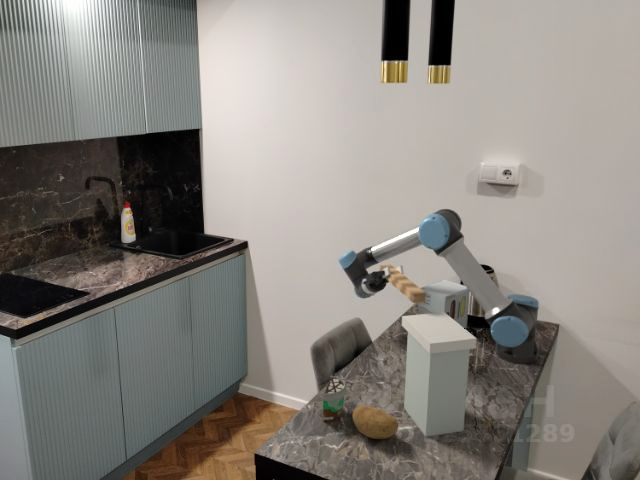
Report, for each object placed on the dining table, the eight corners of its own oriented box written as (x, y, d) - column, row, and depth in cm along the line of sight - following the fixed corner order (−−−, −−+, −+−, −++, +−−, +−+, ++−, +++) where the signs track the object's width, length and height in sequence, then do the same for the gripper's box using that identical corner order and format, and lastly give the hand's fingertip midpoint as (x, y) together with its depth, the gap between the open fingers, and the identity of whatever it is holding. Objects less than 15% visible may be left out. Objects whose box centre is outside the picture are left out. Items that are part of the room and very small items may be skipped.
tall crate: (398, 404, 189) (402, 316, 181) (438, 398, 192) (444, 312, 184) (424, 440, 170) (430, 343, 162) (468, 433, 174) (476, 338, 166)
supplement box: (442, 339, 236) (445, 296, 232) (416, 329, 246) (418, 288, 241) (467, 327, 248) (471, 286, 243) (441, 318, 257) (444, 278, 252)
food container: (342, 426, 177) (343, 396, 174) (322, 424, 178) (322, 394, 175) (349, 405, 188) (349, 376, 186) (330, 403, 189) (330, 374, 187)
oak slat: (379, 273, 213) (379, 265, 212) (390, 272, 214) (390, 264, 213) (413, 303, 185) (413, 293, 184) (425, 302, 186) (425, 292, 185)
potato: (387, 452, 164) (388, 427, 162) (345, 435, 172) (345, 410, 170) (404, 436, 172) (406, 411, 170) (363, 420, 180) (364, 396, 178)
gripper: (396, 290, 226) (420, 278, 204) (353, 294, 222) (373, 282, 200) (393, 271, 228) (416, 257, 206) (351, 274, 224) (370, 260, 202)
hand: (395, 269), depth 203 cm, fingers closed on oak slat, 4 cm apart
